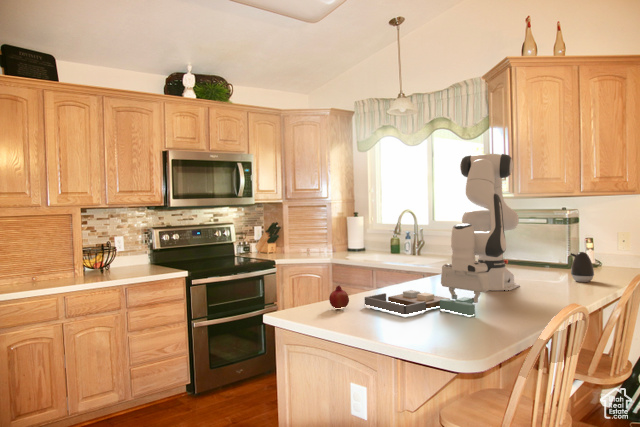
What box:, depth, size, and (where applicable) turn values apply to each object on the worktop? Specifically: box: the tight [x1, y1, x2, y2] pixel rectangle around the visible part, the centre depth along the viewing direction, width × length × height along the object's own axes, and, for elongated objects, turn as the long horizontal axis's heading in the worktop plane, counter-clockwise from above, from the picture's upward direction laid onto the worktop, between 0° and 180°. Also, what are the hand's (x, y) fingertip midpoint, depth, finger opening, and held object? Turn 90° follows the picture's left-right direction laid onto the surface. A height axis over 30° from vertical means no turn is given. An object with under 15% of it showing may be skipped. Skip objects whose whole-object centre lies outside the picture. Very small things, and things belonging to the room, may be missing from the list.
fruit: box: [328, 285, 350, 309], centre depth 183 cm, size 8×8×10 cm
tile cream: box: [417, 292, 435, 301], centre depth 184 cm, size 5×5×2 cm
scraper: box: [439, 296, 476, 315], centre depth 172 cm, size 9×14×5 cm, turn 35°
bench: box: [387, 292, 451, 308], centre depth 187 cm, size 16×20×3 cm
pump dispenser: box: [569, 251, 595, 283], centre depth 226 cm, size 10×10×15 cm
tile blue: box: [402, 289, 421, 298], centre depth 190 cm, size 5×5×2 cm
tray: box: [364, 292, 426, 314], centre depth 179 cm, size 12×23×4 cm, turn 35°
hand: (464, 300), depth 172 cm, fingers open, 8 cm apart
